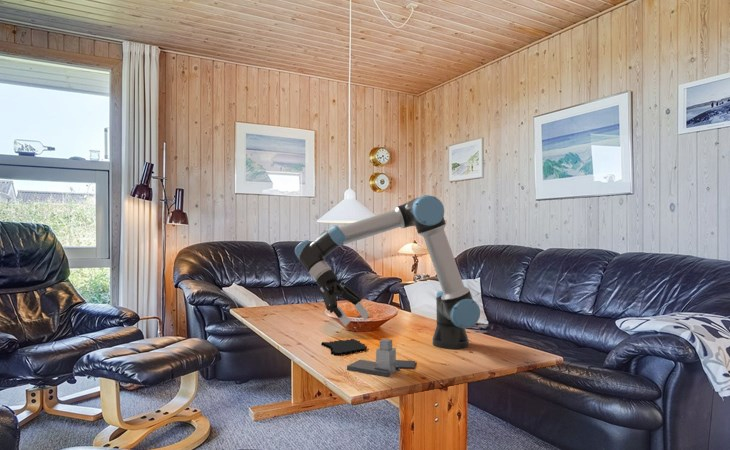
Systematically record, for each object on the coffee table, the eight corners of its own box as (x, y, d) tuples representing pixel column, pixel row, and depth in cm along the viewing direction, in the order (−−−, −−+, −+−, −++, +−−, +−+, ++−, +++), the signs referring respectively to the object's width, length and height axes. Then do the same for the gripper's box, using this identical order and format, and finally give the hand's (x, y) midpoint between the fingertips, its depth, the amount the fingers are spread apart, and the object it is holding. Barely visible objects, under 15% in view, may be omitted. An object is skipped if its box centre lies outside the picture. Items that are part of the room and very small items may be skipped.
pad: (415, 362, 166) (415, 360, 166) (413, 369, 158) (413, 367, 158) (393, 361, 167) (393, 359, 167) (391, 367, 159) (391, 366, 159)
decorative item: (327, 337, 200) (371, 339, 196) (327, 341, 200) (371, 343, 196) (311, 351, 178) (360, 354, 174) (311, 355, 178) (360, 358, 174)
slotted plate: (347, 369, 157) (347, 365, 157) (360, 363, 165) (360, 359, 165) (388, 377, 149) (388, 372, 149) (399, 369, 157) (399, 365, 157)
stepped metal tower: (376, 373, 154) (376, 340, 154) (383, 369, 158) (382, 337, 158) (389, 375, 151) (389, 342, 151) (395, 371, 155) (395, 339, 156)
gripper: (336, 279, 180) (368, 321, 172) (297, 285, 158) (331, 333, 150) (347, 267, 177) (381, 308, 169) (309, 271, 156) (345, 319, 148)
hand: (358, 320), depth 160 cm, fingers open, 13 cm apart
